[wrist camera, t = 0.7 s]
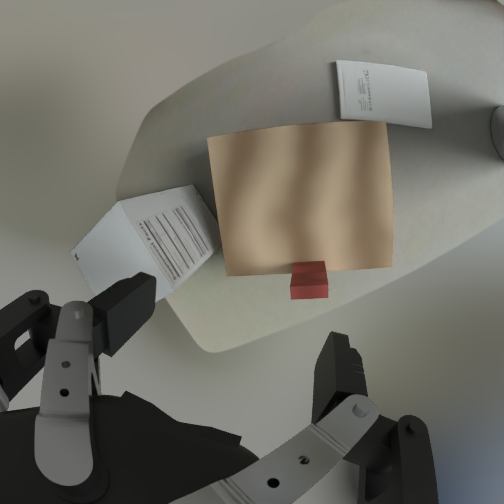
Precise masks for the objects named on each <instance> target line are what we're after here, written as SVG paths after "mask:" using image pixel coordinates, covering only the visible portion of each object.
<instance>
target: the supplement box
mask: <svg viewBox="0 0 504 504" xmlns="http://www.w3.org/2000/svg"><path fill="white" fill-rule="evenodd" d="M221 246H222V241H221V235H220V228H219V224H218V222H217V221H216V219H215V218H214V216H213V215H212V213H211V212H210V210H209V208H208V207H207V205H206V204H205V202H204V201H203V199H202V197H201V196H200V194H199V193H198V191H197V190H196V188H195V186H194V185H188V186H183V187H178V188H173V189H168V190H164V191H161V192H156V193H151V194H146V195H142V196H137V197H133V198H129V199H125V200H121V201H117V202H116V204H114V206H113V207H112V208H111V209H110V210H109V211H108V212H107V213H106V214H105V215H104V216H103V217H102V218H101V219H100V220H99V222H98V223H97V224H96V225H95V226H94V227H93V228H92V229H91V230H90V231H89V233H87V234H86V235H85V237H83V238H82V240H81V241H80V242H79V243H78V244H77V245H76V246H75V247H74V248H73V249H72V250H70V254H71V256H72V258H73V260H74V262H75V263H76V265H77V267H78V268H79V270H80V272H81V274H82V275H83V277H84V279H85V280H86V282H87V283H88V285H89V287H90V288H91V290H92V291H93V293H94V294H95V296H97V295H98V294H100V293H101V292H103V291H104V290H106V289H107V288H108V287H110V286H112V285H113V284H114V283H116V282H117V281H119V280H122V279H126V278H131V277H133V276H134V275H136V274H137V273H139V272H144V273H147V274H150V275H152V276H155V277H156V280H157V284H156V299H155V302H157V301H159V300H160V299H162V298H164V297H165V296H167V295H169V294H171V293H172V292H175V291H176V290H177V289H178V288H179V287H180V286H181V285H182V284H183V283H184V282H185V281H186V280H187V279H188V278H189V277H190V276H191V275H192V274H193V273H194V272H195V271H196V270H197V269H198V268H199V267H200V266H201V265H202V264H203V263H204V262H205V261H206V260H207V259H208V258H209V257H210V256H211V255H212V254H213V253H214V252H215V251H216V250H217V249H219V248H220V247H221Z"/></svg>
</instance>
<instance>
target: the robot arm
mask: <svg viewBox="0 0 504 504" xmlns="http://www.w3.org/2000/svg"><path fill="white" fill-rule="evenodd" d="M491 133H492V138H493V142H494V145H495V147H496V149H497V151H498V153H499V154H500V156H501V157H502V158H503V159H504V106H500V107H498V108H496V109H495V111H494V112H493V114H492V118H491ZM156 284H157V280H156V277H155V276H152V275H150V274H147V273H144V272H139V273H137V274H136V275H134V276H133V277H131V278H126V279H122V280H119V281H117V282H116V283H114V284H113V285H112V286H110V287H108V288H107V289H106V290H104V291H103V292H101V293H100V294H98V295H97V296H95V297H94V298H93V299H91V300H90V301H88V302H87V303H86V302H84V301H71V302H68V303H66V304H65V305H64V306H63V307H60V306H56V305H52V304H50V302H49V296H48V294H47V293H46V292H44V291H41V290H32V291H29V292H26V293H25V294H23V295H22V296H20V297H19V298H17V299H16V300H14V301H13V302H11V303H10V304H8V305H7V306H5V307H4V308H2V309H1V310H0V504H292V503H293V502H295V501H296V500H297V499H298V498H300V497H301V496H302V495H303V494H304V493H306V492H307V491H308V490H309V489H310V488H311V487H313V486H314V485H315V484H316V483H317V482H318V481H319V480H321V479H322V478H323V477H324V476H325V475H326V474H327V473H328V472H329V471H330V470H331V469H332V468H333V467H334V466H335V465H336V464H337V463H338V462H339V461H340V460H341V459H344V460H347V461H349V462H351V463H354V464H357V465H359V466H360V471H359V488H358V501H357V504H439V503H438V492H437V483H436V475H435V468H434V461H433V455H432V450H431V444H430V439H429V434H428V429H427V427H426V425H425V423H424V422H423V421H422V420H421V419H419V418H418V417H416V416H413V415H405V416H403V417H401V418H400V419H399V421H398V422H396V421H393V420H391V419H389V418H386V417H384V416H382V415H380V414H379V409H378V407H377V405H376V404H375V402H374V401H372V400H371V399H370V398H368V394H367V387H366V381H365V375H364V369H363V364H362V358H361V356H360V354H359V353H358V352H357V350H356V349H354V348H350V345H349V338H348V335H345V334H341V333H336V332H333V331H332V332H330V334H329V336H328V338H327V340H326V342H325V344H324V346H323V349H322V351H321V353H320V355H319V357H318V359H317V362H316V366H315V371H314V391H313V407H312V422H311V424H310V425H309V426H307V427H306V428H305V429H304V430H302V431H301V432H299V433H298V434H297V435H295V436H294V437H292V438H291V439H290V440H288V441H287V442H285V443H284V444H283V445H281V446H280V447H279V448H277V449H275V450H274V451H272V452H271V453H269V454H268V455H266V456H265V457H263V458H261V459H259V458H258V457H257V456H256V455H255V454H253V453H252V452H251V451H249V450H248V449H246V448H245V447H243V446H241V445H239V444H240V441H241V438H242V437H241V436H238V435H235V434H231V433H228V432H225V431H222V430H218V429H216V428H213V427H207V426H200V425H194V424H188V423H182V422H178V421H176V420H174V419H173V418H171V417H170V416H169V415H167V414H166V413H164V412H163V411H161V410H160V409H159V408H157V407H156V406H155V405H153V404H152V403H150V402H148V401H146V400H144V399H142V398H140V397H138V396H136V395H134V394H132V393H130V392H128V391H125V392H124V394H123V395H122V396H121V397H118V396H112V395H102V393H101V381H100V360H99V355H100V354H101V353H102V352H103V353H104V354H106V355H108V356H110V357H112V356H113V355H114V354H115V353H116V352H117V351H118V350H119V349H120V348H121V347H122V346H123V345H124V344H125V343H126V342H127V341H128V340H129V339H130V338H131V336H133V335H134V334H135V333H136V331H138V330H139V329H140V327H141V326H142V325H143V324H144V323H145V322H146V321H147V320H148V319H149V318H150V317H151V316H152V314H153V312H154V309H155V299H156ZM27 330H28V331H29V335H30V339H28V340H27V341H26V342H25V343H24V344H22V345H21V346H20V347H19V348H18V349H17V350H15V348H14V345H15V341H16V340H17V338H18V337H20V336H21V335H22V334H23V333H24V332H26V331H27ZM43 367H44V374H43V381H42V390H41V401H40V407H33V408H27V409H20V410H13V411H7V409H8V407H9V402H10V401H11V400H12V399H13V398H14V397H15V396H16V395H17V394H18V392H19V391H20V390H21V389H22V388H23V387H24V386H25V385H26V384H27V383H28V382H29V381H30V380H31V379H32V378H33V377H34V376H35V375H36V374H37V373H38V372H39V371H40V370H41V369H42V368H43Z"/></svg>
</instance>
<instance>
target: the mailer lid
mask: <svg viewBox="0 0 504 504" xmlns="http://www.w3.org/2000/svg"><path fill="white" fill-rule="evenodd" d="M207 143H208V150H209V158H210V165H211V173H212V180H213V187H214V194H215V201H216V208H217V215H218V221H219V228H220V235H221V241H222V247H223V254H224V260H225V266H226V272H227V276H246V275H268V274H289V273H292V278H291V284H290V293H291V299H313V298H328V280H327V273H326V271H341V270H356V269H371V268H385V267H392V261H393V197H392V178H391V165H390V154H389V145H388V136H387V129H386V122H385V121H349V122H327V123H312V124H300V125H289V126H280V127H272V128H264V129H256V130H249V131H243V132H237V133H231V134H225V135H219V136H214V137H209V138H207Z"/></svg>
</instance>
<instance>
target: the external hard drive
mask: <svg viewBox="0 0 504 504" xmlns="http://www.w3.org/2000/svg"><path fill="white" fill-rule="evenodd" d="M336 69H337V79H338V87H339V104H340V119H341V120H356V121H385V122H386V123H390V124H398V125H406V126H413V127H420V128H426V129H432V115H431V104H430V96H429V87H428V80H427V74H426V72H425V71H420V70H415V69H410V68H404V67H398V66H392V65H385V64H377V63H368V62H358V61H344V60H336Z"/></svg>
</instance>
